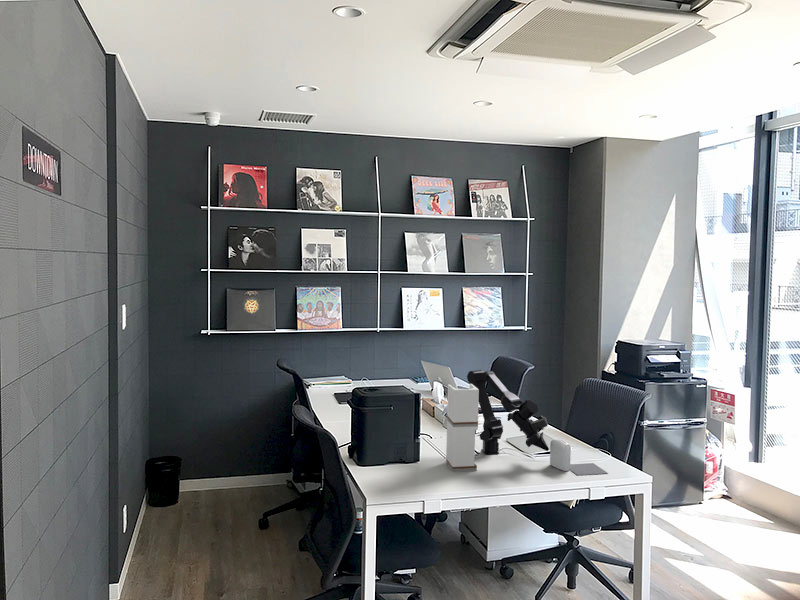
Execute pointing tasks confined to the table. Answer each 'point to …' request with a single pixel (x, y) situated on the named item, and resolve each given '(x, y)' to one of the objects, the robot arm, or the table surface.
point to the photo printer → (560, 454)
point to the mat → (586, 469)
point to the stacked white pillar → (461, 428)
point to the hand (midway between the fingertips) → (548, 450)
